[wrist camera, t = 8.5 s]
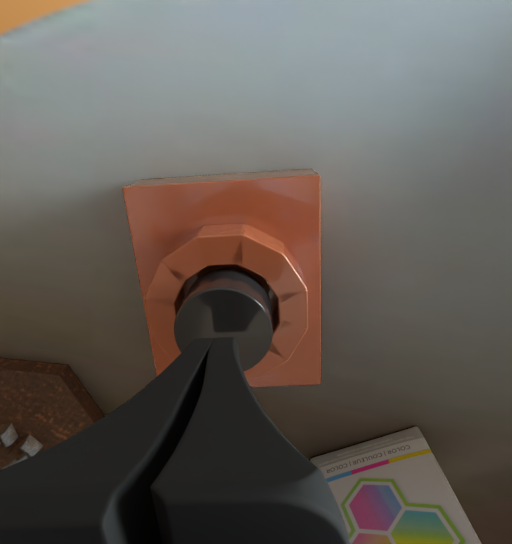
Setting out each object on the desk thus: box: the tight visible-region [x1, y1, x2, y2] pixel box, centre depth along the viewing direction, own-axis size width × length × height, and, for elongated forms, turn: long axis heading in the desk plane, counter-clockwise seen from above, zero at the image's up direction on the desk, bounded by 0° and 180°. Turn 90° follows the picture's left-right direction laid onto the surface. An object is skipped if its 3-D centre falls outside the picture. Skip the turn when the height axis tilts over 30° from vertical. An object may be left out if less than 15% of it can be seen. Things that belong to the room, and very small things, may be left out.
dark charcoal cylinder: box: [174, 269, 273, 371], centre depth 15 cm, size 4×4×2 cm
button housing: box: [122, 169, 321, 387], centre depth 17 cm, size 10×8×4 cm
